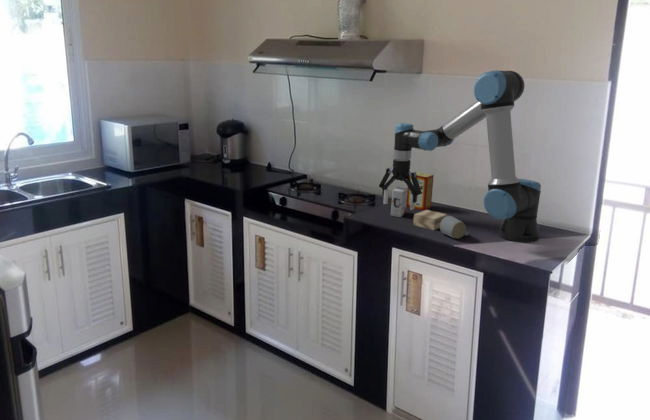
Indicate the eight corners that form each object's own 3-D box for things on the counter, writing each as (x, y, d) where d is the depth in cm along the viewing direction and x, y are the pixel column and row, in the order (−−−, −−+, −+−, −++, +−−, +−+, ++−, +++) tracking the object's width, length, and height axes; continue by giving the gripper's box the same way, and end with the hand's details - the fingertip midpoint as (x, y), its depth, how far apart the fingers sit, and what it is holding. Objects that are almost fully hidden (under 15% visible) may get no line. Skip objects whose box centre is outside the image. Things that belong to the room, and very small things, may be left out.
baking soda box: (431, 207, 259) (433, 174, 254) (424, 210, 254) (427, 176, 249) (413, 204, 264) (415, 171, 260) (406, 206, 259) (408, 173, 255)
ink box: (395, 211, 251) (397, 185, 248) (406, 212, 249) (408, 187, 246) (389, 216, 244) (391, 190, 240) (401, 217, 242) (402, 191, 238)
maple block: (446, 225, 233) (447, 214, 231) (433, 230, 225) (434, 219, 224) (425, 220, 239) (426, 209, 238) (413, 225, 232) (414, 214, 230)
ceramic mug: (452, 240, 213) (454, 221, 211) (438, 234, 220) (440, 216, 218) (473, 237, 218) (475, 219, 216) (459, 231, 225) (461, 213, 223)
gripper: (432, 162, 235) (427, 210, 241) (382, 154, 250) (379, 199, 256) (423, 164, 230) (419, 213, 235) (373, 156, 244) (370, 202, 250)
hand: (398, 206), depth 246 cm, fingers open, 13 cm apart
